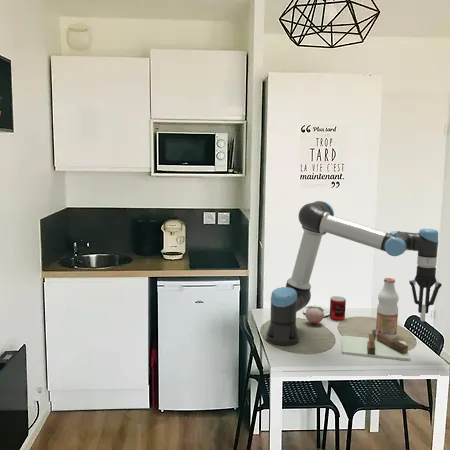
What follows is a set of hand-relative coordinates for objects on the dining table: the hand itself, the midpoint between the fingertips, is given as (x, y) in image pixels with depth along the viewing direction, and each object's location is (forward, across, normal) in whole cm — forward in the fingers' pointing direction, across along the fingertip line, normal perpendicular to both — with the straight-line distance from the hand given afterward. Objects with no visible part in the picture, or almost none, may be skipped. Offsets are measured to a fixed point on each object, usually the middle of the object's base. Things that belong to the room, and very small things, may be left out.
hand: (422, 320), depth 220 cm
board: (+16, -19, +4) cm, 25 cm away
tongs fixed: (+15, -20, +4) cm, 25 cm away
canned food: (+16, -36, +41) cm, 57 cm away
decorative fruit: (+16, -47, +29) cm, 57 cm away
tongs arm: (+15, -11, +6) cm, 20 cm away
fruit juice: (+17, -13, +21) cm, 30 cm away
